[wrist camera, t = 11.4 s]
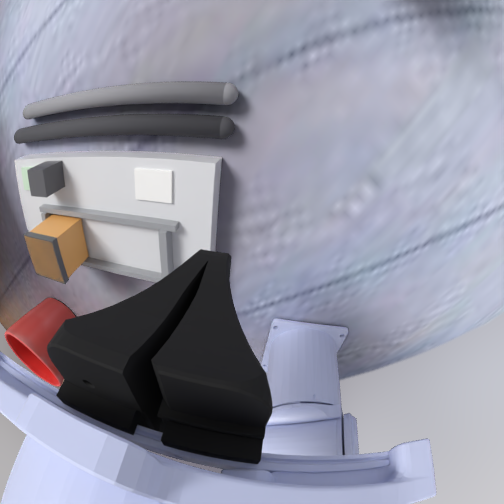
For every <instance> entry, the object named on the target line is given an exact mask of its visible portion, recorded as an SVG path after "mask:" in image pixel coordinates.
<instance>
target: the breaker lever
mask: <svg viewBox="0 0 504 504" xmlns="http://www.w3.org/2000/svg"><path fill="white" fill-rule="evenodd" d="M24 238H25V242H26V245H27V248H28V251H29V254H30V257H31V260H32V263H33V266H34V269H35V272H36V274H38V275H41V276H43V277H46V278H49V279H52V280H55V281H58V282H61V283H64V284H66V283H67V281H68V280H69V279H68V278H69V277H70V276H71V275H72V274H73V273H74V271H75V270H76V269H77V268H78V267H79V266H80V265H81V264H82V263H83V262H84V261H85V260H86V259H87V258H88V257H89V255H88V250H87V246H86V241H85V236H84V231H83V226H82V221H81V218H75V217H69V216H62V215H55V214H52V215H51V216H50V217H48V218H47V219H45V220H44V221H43V222H41V223H40V224H39V225H37V226H36V227H35V228H34V229H32V230H31V231H30V232H29V231H27V232H26V233H25V234H24Z"/></svg>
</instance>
